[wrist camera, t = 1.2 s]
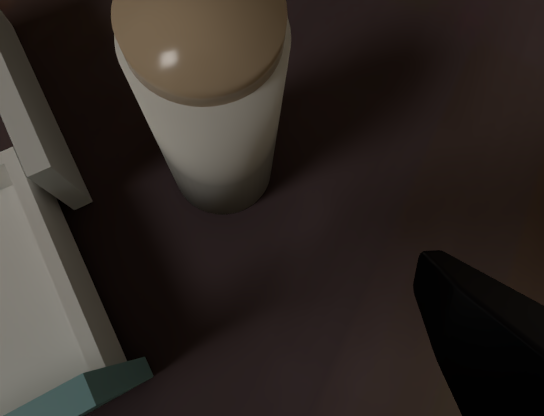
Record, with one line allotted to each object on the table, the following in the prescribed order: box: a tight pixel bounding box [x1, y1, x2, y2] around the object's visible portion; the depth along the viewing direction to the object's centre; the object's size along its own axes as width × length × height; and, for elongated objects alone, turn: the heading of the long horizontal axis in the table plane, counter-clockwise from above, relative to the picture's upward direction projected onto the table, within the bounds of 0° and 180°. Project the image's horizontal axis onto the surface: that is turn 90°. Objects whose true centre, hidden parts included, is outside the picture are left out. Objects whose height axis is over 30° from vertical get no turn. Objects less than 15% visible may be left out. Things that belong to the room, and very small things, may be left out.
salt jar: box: [111, 0, 291, 215], centre depth 18 cm, size 5×5×12 cm
